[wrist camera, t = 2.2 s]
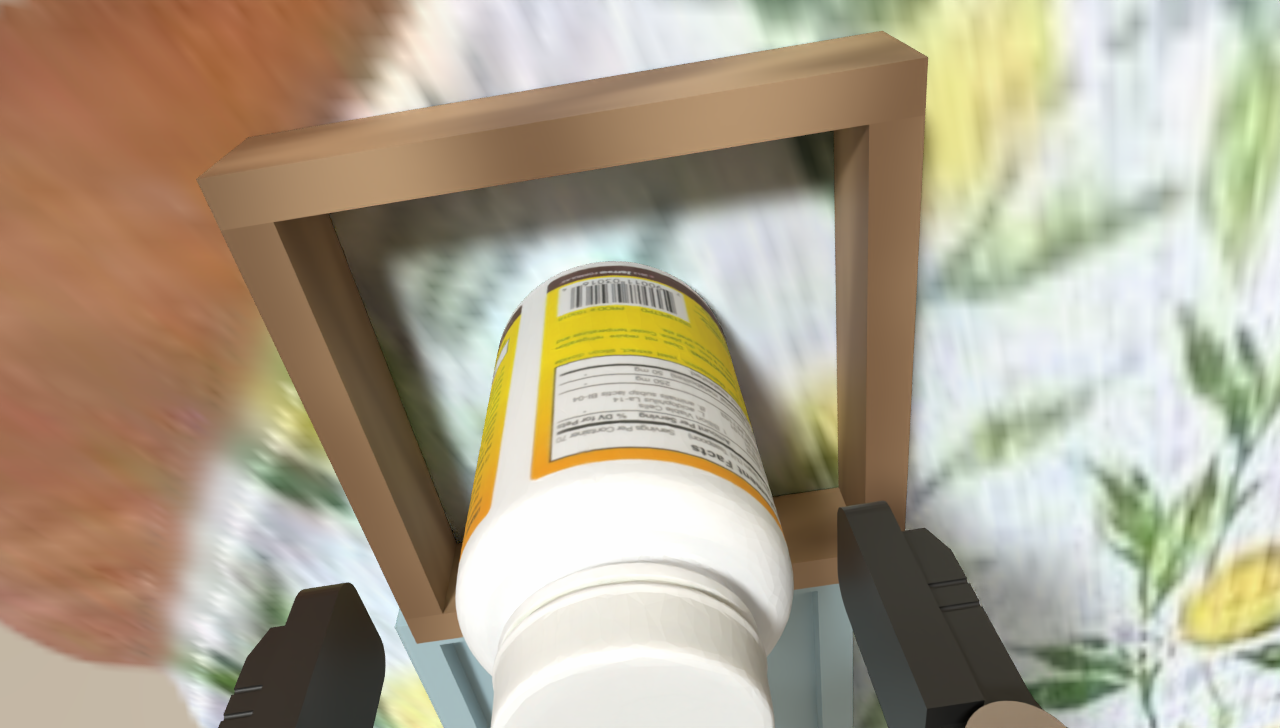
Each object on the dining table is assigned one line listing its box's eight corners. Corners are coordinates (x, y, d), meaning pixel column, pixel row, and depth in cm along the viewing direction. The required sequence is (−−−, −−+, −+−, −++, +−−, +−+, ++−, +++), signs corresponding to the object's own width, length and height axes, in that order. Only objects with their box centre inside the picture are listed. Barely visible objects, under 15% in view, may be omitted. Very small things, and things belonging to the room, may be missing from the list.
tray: (839, 525, 23) (852, 561, 22) (842, 769, 30) (852, 807, 29) (404, 589, 23) (394, 627, 22) (508, 814, 30) (505, 853, 29)
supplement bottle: (586, 474, 21) (582, 887, 13) (452, 329, 19) (334, 726, 10) (766, 376, 20) (899, 766, 11) (648, 204, 17) (704, 543, 9)
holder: (882, 30, 16) (928, 57, 13) (873, 507, 23) (902, 574, 20) (248, 137, 16) (196, 178, 14) (432, 572, 23) (416, 644, 21)
